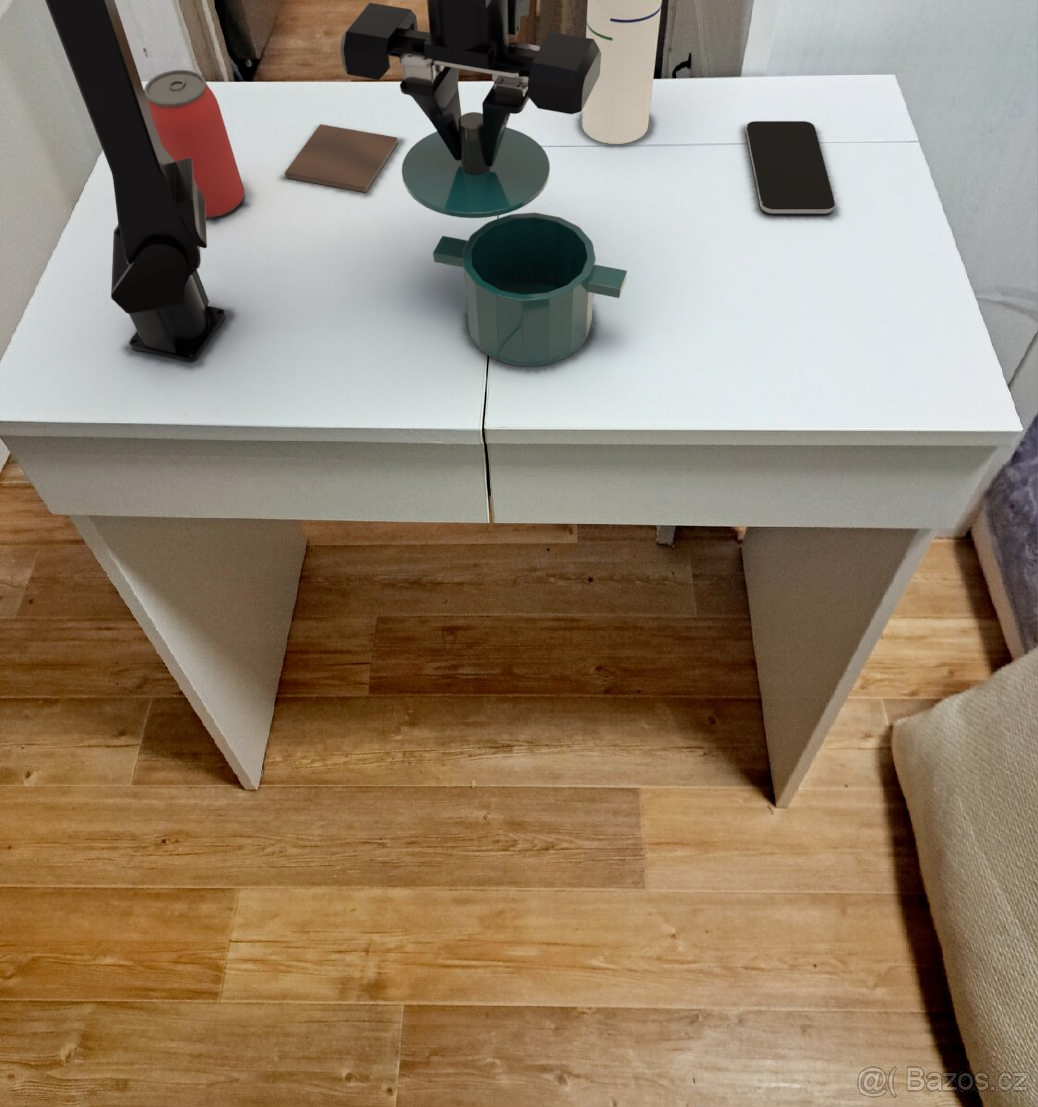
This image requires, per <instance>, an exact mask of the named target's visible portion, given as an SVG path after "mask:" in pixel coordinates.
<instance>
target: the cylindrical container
mask: <svg viewBox="0 0 1038 1107" xmlns="http://www.w3.org/2000/svg"><path fill="white" fill-rule="evenodd" d="M662 3H663V0H587V7H586V8H587V9H586V30H585V38H590V39H594V41H595V42H596V44H597V46H598V48H599V49H600V52H601V64H600V75H599V77H598V79H597V81H596V83H595V85H594V87H593V89H592V91H591V93H590V95H589V97H588V99H587V101H586V103H585V105H584V107H583V109H582V116H581V117H582V118H581V126H582V130H583V131H584V133H585V134H586V135H587V136H588V137H589V138H591V139H592V140H595V141H597V142H600V143H603V144H609V145H623V144H628V143H629V144H630V143H632V142H635V141H637V140H639V139H641V138H642V137H643V136H645V134H646V133H647V131H648V129H649V123H650V122H649V121H650V113H651V103H652V93H653V85H654V76H655V75H654V74H655V66H656V59H657V58H656V57H657V50H658V40H659V31H660V23H661V12H662Z"/></svg>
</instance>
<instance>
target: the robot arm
mask: <svg viewBox="0 0 1038 1107" xmlns="http://www.w3.org/2000/svg"><path fill="white" fill-rule="evenodd" d="M44 1H45V4H46V6H47V9H48V12H49V14H50V16H51V19H52V22H53V24H54V27H55V30H56V33H57V35H58V37H59V40H60V43H61V45H62V48H63V50H64V53H65V55H66V57H67V58H66V59H67V61H68V64H69V67H70V69H71V71H72V74H73V76H74V79H75V81H76V84H77V87H78V89H79V92H80V95H81V97H82V100H83V102H84V105H85V108H86V110H87V113H88V116H89V118H90V120H91V123H92V126H93V128H94V130H95V133H96V136H97V138H98V141H99V143H100V146H101V149H102V152H103V155H104V157H105V159H106V162H107V165H108V167H109V170H110V172H111V176H112V183H113V191H114V200H115V208H116V217H117V225H116V227H115V228H114V230H113V242H112V262H111V263H112V264H111V266H112V267H111V284H110V285H111V287H110V288H111V290H110V293H111V294H110V299H111V300H112V301H113V302H115V304H116V305H117V306H119V308H120V309H122V310H123V311H124V313H126V314H128V315H129V317H130V320H131V321H132V323H133V325H134V327H135V330H136V331H135V333H134V334H133V336H132V337H131V338H130V340H129V342H128V344H129V346H130V348H131V349H133V350H136V351H140V352H141V351H142V352H146V353H150V354H155V355H159V356H163V357H167V358H172V359H175V360H176V359H177V360H181V361H185V362H191V363H192V362H194V361H196V360H198V357H200V354H201V353H202V351H203V350H204V349H205V347H206V346H207V344H208V343H209V341H210V340H211V339H212V337H213V335H214V334H215V333H216V331H217V330H218V329H219V327H220V326H221V324H222V323H223V321H224V320H225V318H226V317H227V313H226V311H225V309H224V308H220V307H216V306H211V305H209V303H210V300H209V297H208V295H207V292H206V290H205V288H204V285H203V282H202V280H201V277H200V274H199V271H198V269H199V268H200V267H201V260H202V259H201V249H207V248H208V239H207V237H208V235H207V218H206V212H205V196H204V195H203V194H202V193H201V191H200V190H199V189H198V187H197V184H196V182H195V178H194V171H193V162H192V158H187V159H183V160H179V161H176V162H175V161H174V160H173V158H172V157H171V156H170V155H169V154H168V152H167V151H166V150H165V149H164V147H163V145H162V143H161V141H160V138H159V135H158V132H157V129H156V126H155V123H154V120H153V117H152V114H151V111H150V108H149V104H148V101H147V98H146V95H145V92H144V89H145V88H144V87H143V83H142V80H141V77H140V74H139V71H138V67H137V65H136V62H135V58H134V56H133V51H132V50H131V47H130V43H129V41H128V37H127V34H126V31H125V28H124V25H123V21H122V19H121V15H120V12H119V9H118V6H117V3H116V0H44ZM426 4H427V5H426V6H427V16H428V27H429V28H428V29H429V31H422V30H419V28H418V20H417V19H418V18H417V15H416V14H415V12H414V11H413V10H412V9H411V8H405V7H400V6H393V5H386V4H380V3H372V2H369V3H368V4H367V5H366V6H365V7H364V9H363V10H362V11H361V12H360V13H359V15H358V16H357V17H356V18H355V20H354V21H353V22H352V23H351V24H350V26H349V27H348V28H347V29H346V31H345V32H344V33H343V34H342V36H341V40H340V46H339V50H340V57H341V64H342V69H343V71H344V72H345V74H346V75H347V76H354V77H359V78H365V79H370V80H376V81H379V80H381V79H382V77H383V76H385V74H387V72H388V71H389V70H390V69H391V64H390V57H394V58H395V57H396V58H398V62H399V64H400V65H401V66H402V75H403V79H402V81H400V83H399V90H400V92H401V93H402V94H403V95H406V96H407V95H408V96H410V97H411V98H412V99H413V100H414V101H415V103H416V104H417V105H418V107H419V108H420V109H421V111H422V112H423V113H424V115H425V116H426V117H427V119H428V120H429V122H431V124H432V125H433V127H434V129H435V130H436V132H438V133H439V135H440V136H441V138H442V140H443V141H444V143H445V144H446V146H447V148H448V149H449V151H450V153H451V154H452V156H453V157H454V159H455V160H458V161H460V160H461V156H460V140H459V125H458V120H459V118H460V117H461V116H462V107H461V99H460V98H461V97H460V90H459V76H460V70H464V71H470V72H476V73H481V74H482V73H483V74H488V75H491V80H492V82H493V85H492V86H491V88H490V89H489V91H488V92H487V94H486V96H485V97H484V99H483V101H482V104H481V105H482V106H481V107H482V114H483V134H484V155H485V159H486V164H487V166H489V167H492V165H493V164H494V162H495V160H496V157H497V154H498V150H499V147H500V144H501V141H502V138H503V135H504V132H505V129H506V127H507V126H508V123H509V119H510V117H511V115H517V114H520V113H522V112H523V110H524V108H525V107H526V105H527V103H528V102H529V100H530V101H531V102H532V104H533V105H534V106H535V107H536V108H537V109H539V110H545V111H550V112H555V113H556V112H557V113H562V114H567V115H574V114H578V113H582V112H583V107H584V105H585V103H586V101H587V99H588V97H589V95H590V93H591V91H592V89H593V87H594V85H595V83H596V81H597V79H598V77H599V75H600V64H601V52H600V49H599V48H598V46H597V44H596V42H595V41H594V39H590V38H586V37H584V36H577V35H572V34H566V33H560V32H559V33H558V32H553V31H549V32H548V34H547V35H546V36H545V39H544V40H543V43H542V44H541V46H539V45H535V44H529V43H523V42H519V41H518V42H517V41H511V42H509V36H517V34H518V32H519V31H520V29H521V17H523V18H528V17H529V16H530V15H529V13H530V4H531V0H426Z"/></svg>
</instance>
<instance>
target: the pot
mask: <svg viewBox="0 0 1038 1107" xmlns="http://www.w3.org/2000/svg"><path fill="white" fill-rule="evenodd" d="M432 255H433V262H434V263H438V264H444V265H448V266H454V267H458V268H462V269H463V274H464V289H465V300H466V312H467V313H466V315H467V324H468V331H469V334H470V337H471V340H472V341H473V342H474V344H475V346H477V348H478V349H479V350H480V351H482V352H483V353H484V354H485V355H486V356H488V357H490V358H492V359H494V360H496V361H498V362H501V363H503V364H507V365H511V366H518V367H540V366H547V365H550V364H554V363H558V362H560V361H562V360H565V359H567V358H568V357H570V356H571V355H573V354H574V353H576V351H578V350H579V349H580V348H581V347H582V346H583V344H584V343H585V342H586V340H587V338H588V336H589V334H590V330H591V324H592V322H593V305H594V294H596V295H601V296H606V297H611V298H616V299H620V298H621V296H622V293H623V290H624V287H625V283H626V281H627V277H628V270H625V269H620V268H615V267H610V266H605V265H600V264H596V262H597V258H596V252H595V247H594V243H593V241H592V239H591V238H589V236H588V235H587V234H586V233H585V232H584V231H583V229H581V227H580V226H578V225H576V224H575V223H572V222H570V221H568V220H566V219H564V218H562V217H560V216H555V215H551V214H544V213H540V212H523V213H510V214H507V215H504V216H501V217H499V218H496V219H493V220H490V221H488V222H486V223H485V224H484V225H482V226H480V227H479V228H478V229H477V230H475V232H473V233H472V234H471V235H470V236H469V237H468V239H461V238H457V237H451V236H447V235H442V236H441V237H440V239H439V240H438V242H437V245H436V246H435V248H434V250H433V251H432Z"/></svg>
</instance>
